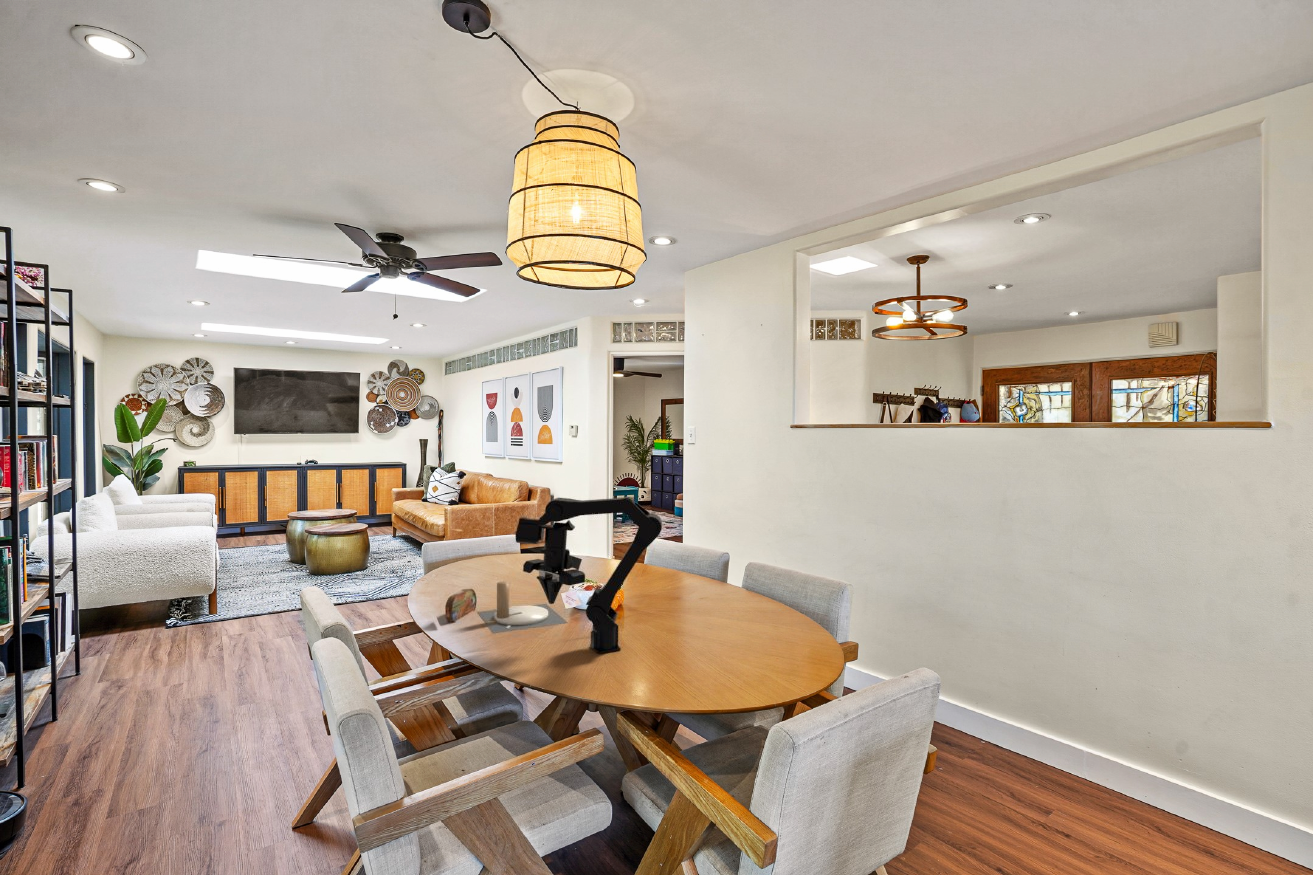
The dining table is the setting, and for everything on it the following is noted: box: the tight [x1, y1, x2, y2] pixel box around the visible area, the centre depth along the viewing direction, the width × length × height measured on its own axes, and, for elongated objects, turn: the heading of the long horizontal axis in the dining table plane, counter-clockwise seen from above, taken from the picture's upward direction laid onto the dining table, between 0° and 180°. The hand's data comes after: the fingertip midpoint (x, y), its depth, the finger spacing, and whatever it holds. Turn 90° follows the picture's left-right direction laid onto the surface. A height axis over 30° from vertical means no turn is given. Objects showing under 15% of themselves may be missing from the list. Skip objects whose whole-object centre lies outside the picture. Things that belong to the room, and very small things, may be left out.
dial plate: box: [476, 603, 569, 634], centre depth 192 cm, size 22×22×1 cm
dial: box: [494, 581, 548, 625], centre depth 192 cm, size 16×16×11 cm
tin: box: [444, 588, 478, 623], centre depth 193 cm, size 15×3×8 cm, turn 168°
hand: (551, 603), depth 169 cm, fingers closed
